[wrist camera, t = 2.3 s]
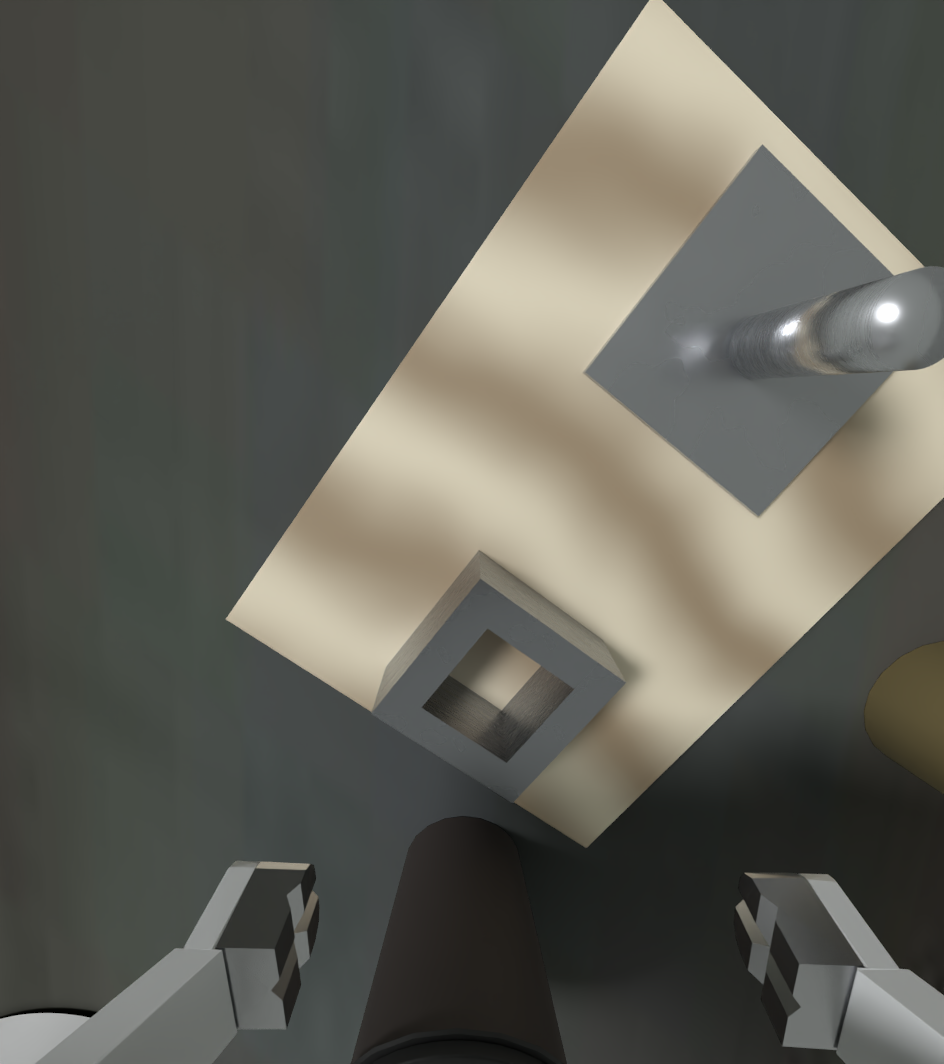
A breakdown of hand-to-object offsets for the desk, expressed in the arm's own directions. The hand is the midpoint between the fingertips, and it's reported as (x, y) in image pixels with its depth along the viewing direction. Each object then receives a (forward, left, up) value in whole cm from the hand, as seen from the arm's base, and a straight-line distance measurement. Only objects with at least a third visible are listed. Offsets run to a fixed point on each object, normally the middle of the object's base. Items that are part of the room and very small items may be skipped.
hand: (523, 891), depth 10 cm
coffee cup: (-10, -6, -12) cm, 17 cm away
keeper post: (+14, 0, -10) cm, 17 cm away
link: (0, 0, -10) cm, 10 cm away
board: (+7, 0, -11) cm, 13 cm away
